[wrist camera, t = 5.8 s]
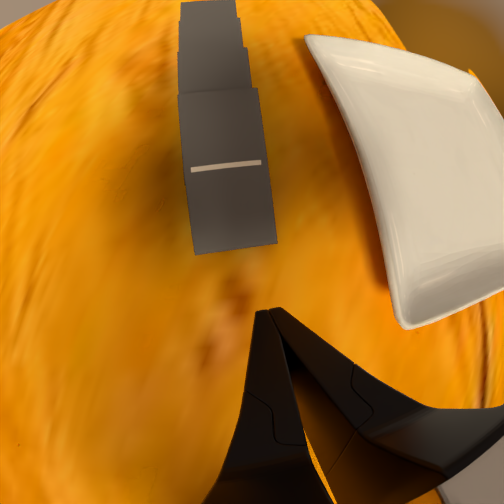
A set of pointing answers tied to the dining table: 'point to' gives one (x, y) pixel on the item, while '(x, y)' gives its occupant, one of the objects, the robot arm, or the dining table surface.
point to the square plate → (424, 172)
